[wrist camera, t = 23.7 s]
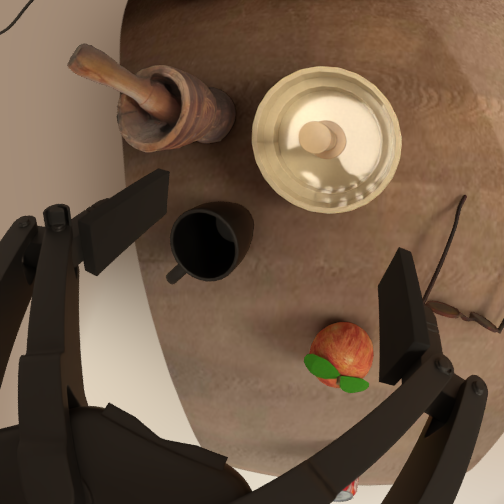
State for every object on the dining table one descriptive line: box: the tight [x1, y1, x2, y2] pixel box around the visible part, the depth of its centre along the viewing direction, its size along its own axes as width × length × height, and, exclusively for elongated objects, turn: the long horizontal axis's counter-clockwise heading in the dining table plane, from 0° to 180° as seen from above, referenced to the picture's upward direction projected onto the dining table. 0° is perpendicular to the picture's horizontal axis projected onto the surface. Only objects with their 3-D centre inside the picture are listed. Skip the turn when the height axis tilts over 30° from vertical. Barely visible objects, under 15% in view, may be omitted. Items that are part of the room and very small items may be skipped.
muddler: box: [298, 120, 346, 159], centre depth 26 cm, size 4×4×16 cm
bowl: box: [252, 66, 402, 214], centre depth 31 cm, size 15×15×6 cm
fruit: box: [304, 322, 374, 393], centre depth 37 cm, size 9×10×10 cm
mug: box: [166, 201, 254, 284], centre depth 38 cm, size 8×12×10 cm
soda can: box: [334, 477, 359, 502], centre depth 45 cm, size 6×6×12 cm
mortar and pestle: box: [67, 44, 236, 153], centre depth 28 cm, size 12×9×20 cm
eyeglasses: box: [422, 195, 504, 333], centre depth 30 cm, size 15×15×5 cm
